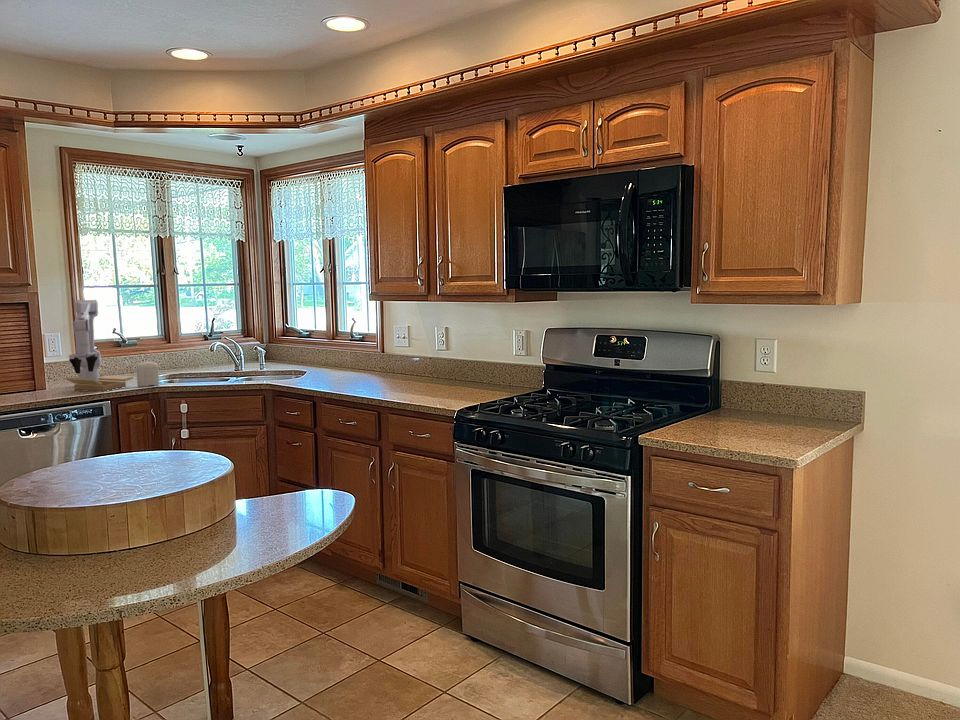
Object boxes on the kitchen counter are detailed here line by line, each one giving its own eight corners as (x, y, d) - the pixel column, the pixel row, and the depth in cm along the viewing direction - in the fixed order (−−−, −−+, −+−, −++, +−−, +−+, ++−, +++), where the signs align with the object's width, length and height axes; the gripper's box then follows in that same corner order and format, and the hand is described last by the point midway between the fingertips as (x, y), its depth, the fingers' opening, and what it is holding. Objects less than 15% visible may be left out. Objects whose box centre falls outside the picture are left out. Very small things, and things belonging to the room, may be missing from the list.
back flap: (106, 375, 380) (106, 377, 380) (98, 378, 375) (98, 380, 375) (133, 376, 374) (133, 378, 375) (124, 379, 369) (125, 381, 370)
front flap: (75, 381, 362) (74, 383, 361) (66, 377, 357) (65, 379, 356) (102, 383, 356) (101, 384, 356) (94, 378, 351) (93, 380, 351)
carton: (74, 390, 362) (74, 384, 362) (97, 386, 375) (97, 380, 375) (103, 391, 356) (103, 385, 356) (125, 387, 370) (125, 381, 369)
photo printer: (158, 384, 381) (157, 361, 379) (160, 385, 377) (158, 361, 376) (136, 386, 375) (135, 362, 374) (138, 387, 372) (137, 363, 370)
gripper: (76, 346, 347) (78, 374, 348) (101, 343, 361) (102, 370, 362) (65, 345, 349) (66, 374, 351) (90, 343, 363) (91, 370, 364)
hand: (84, 372), depth 356 cm, fingers open, 7 cm apart
